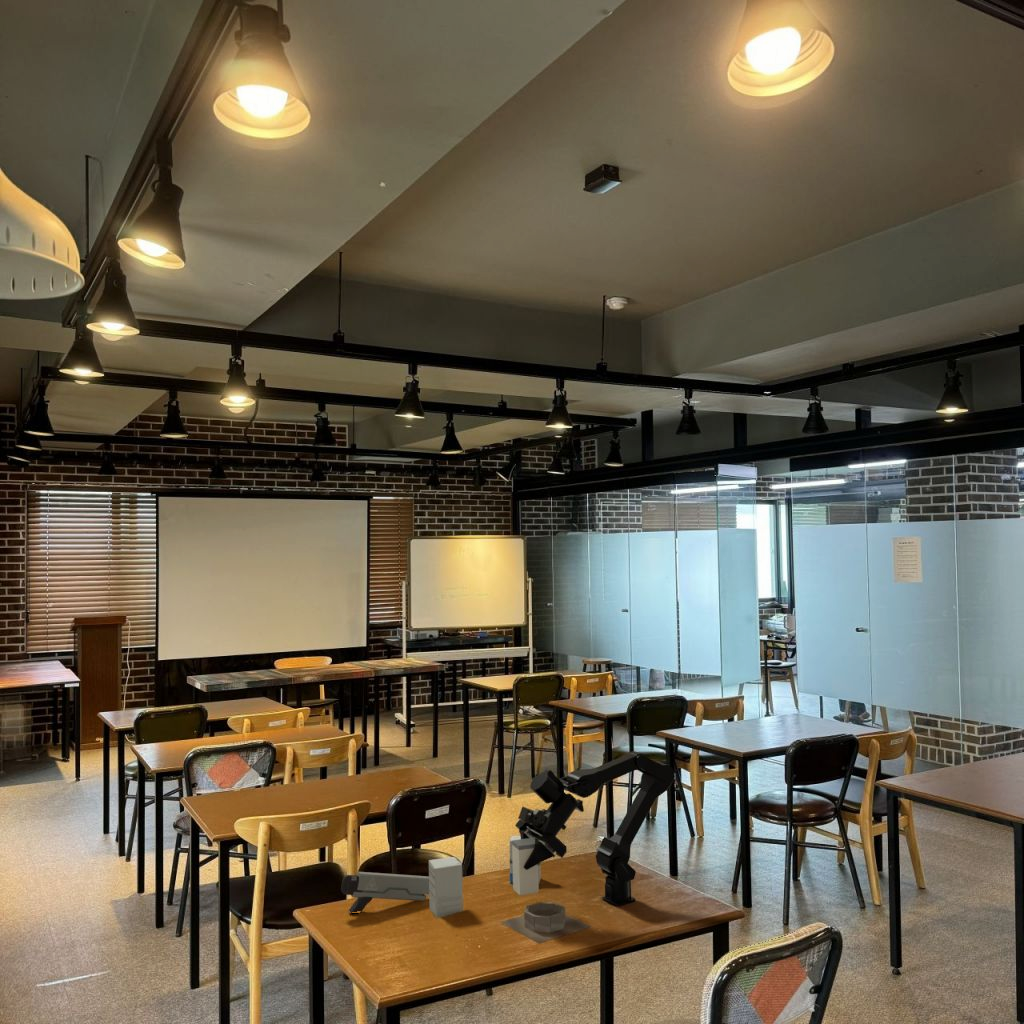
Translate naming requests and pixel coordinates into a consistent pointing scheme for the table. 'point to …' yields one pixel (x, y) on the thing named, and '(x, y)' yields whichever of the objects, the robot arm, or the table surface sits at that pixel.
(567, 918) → the ring stand
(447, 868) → the supplement box
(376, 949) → the table surface
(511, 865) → the ink box
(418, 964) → the table surface
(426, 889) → the gun
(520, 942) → the table surface
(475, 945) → the table surface
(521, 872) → the link block
